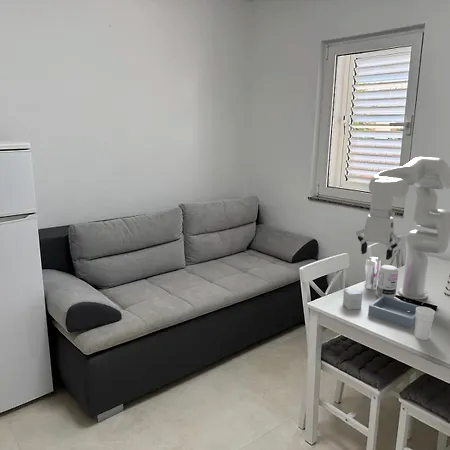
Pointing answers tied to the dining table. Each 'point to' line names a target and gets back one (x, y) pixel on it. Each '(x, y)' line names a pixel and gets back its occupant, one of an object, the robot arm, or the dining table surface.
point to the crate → (394, 311)
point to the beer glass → (372, 272)
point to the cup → (423, 322)
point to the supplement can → (387, 281)
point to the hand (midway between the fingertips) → (375, 256)
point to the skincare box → (352, 298)
